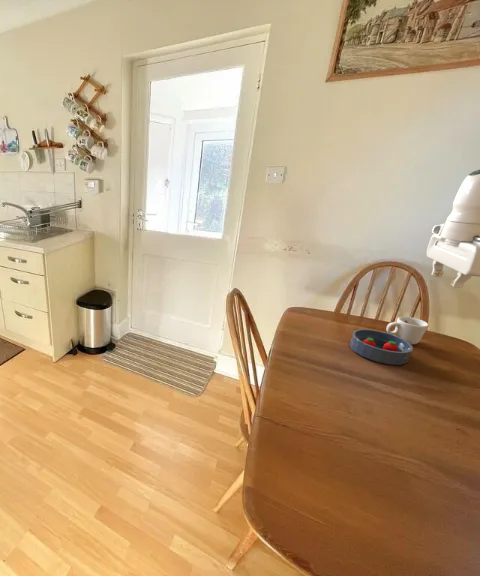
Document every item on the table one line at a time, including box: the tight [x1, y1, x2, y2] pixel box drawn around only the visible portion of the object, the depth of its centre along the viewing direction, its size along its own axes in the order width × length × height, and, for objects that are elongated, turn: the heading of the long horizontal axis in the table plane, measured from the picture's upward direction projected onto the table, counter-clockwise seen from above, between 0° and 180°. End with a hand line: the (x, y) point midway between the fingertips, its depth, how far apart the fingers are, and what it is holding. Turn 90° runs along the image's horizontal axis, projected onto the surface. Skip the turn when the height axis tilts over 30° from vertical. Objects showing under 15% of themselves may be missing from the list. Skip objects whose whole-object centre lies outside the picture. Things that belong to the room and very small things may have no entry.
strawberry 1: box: [362, 338, 375, 347], centre depth 106 cm, size 4×4×4 cm
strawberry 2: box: [383, 341, 398, 352], centre depth 104 cm, size 4×4×4 cm
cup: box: [385, 315, 429, 345], centre depth 112 cm, size 11×8×8 cm
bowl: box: [348, 328, 414, 366], centre depth 105 cm, size 15×15×5 cm
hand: (445, 281), depth 88 cm, fingers open, 8 cm apart
